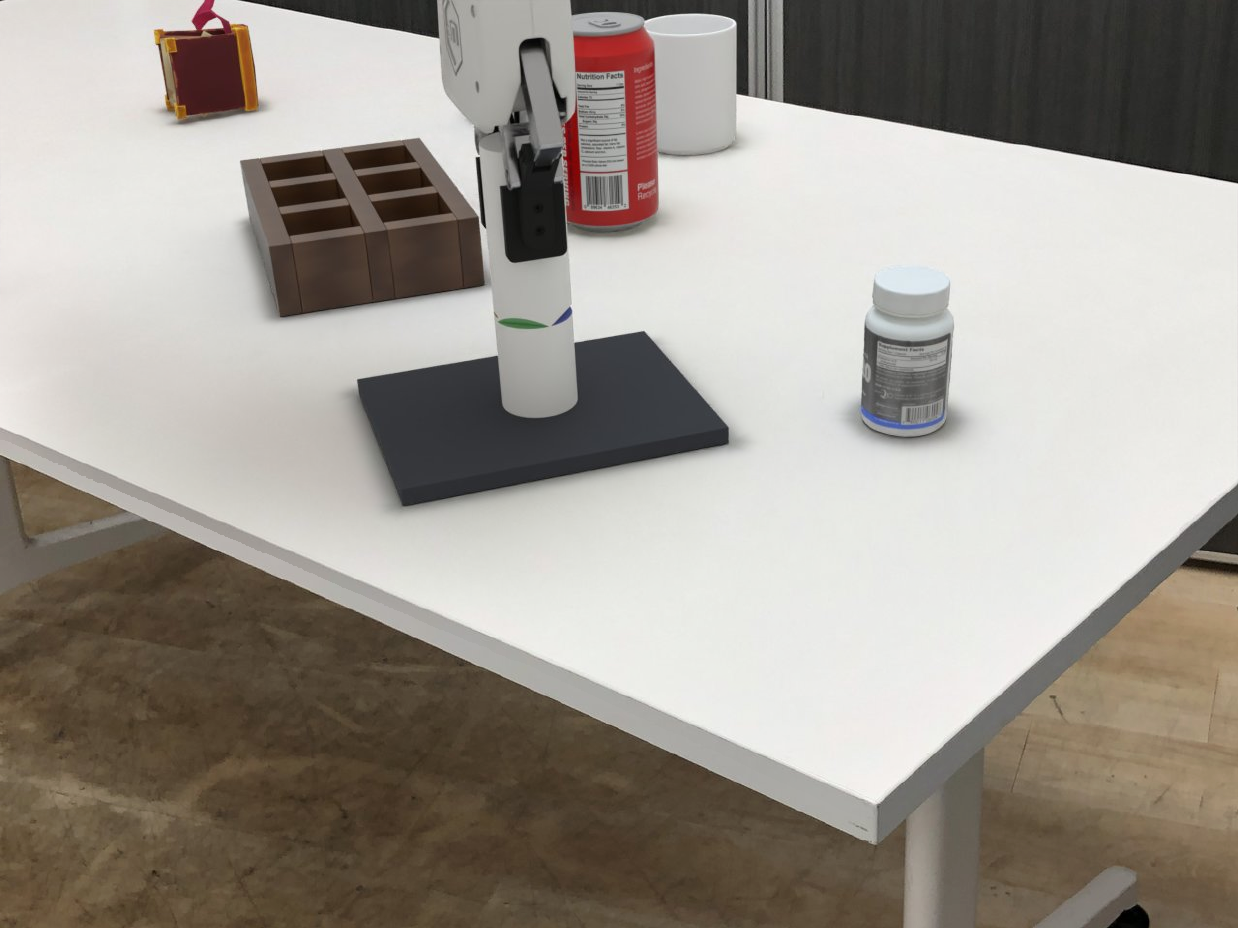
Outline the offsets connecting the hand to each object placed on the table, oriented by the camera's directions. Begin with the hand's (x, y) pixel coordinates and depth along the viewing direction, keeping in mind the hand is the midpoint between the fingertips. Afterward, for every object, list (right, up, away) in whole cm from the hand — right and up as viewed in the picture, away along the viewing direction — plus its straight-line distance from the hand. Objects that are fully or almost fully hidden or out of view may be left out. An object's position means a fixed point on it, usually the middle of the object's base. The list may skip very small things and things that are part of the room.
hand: (523, 237), depth 77 cm
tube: (+1, -9, +5) cm, 10 cm away
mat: (0, -9, +5) cm, 11 cm away
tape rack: (-14, +4, +30) cm, 33 cm away
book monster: (-36, +24, +68) cm, 81 cm away
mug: (+10, +16, +50) cm, 53 cm away
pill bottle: (+21, -10, +4) cm, 23 cm away
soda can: (+4, +7, +34) cm, 35 cm away
